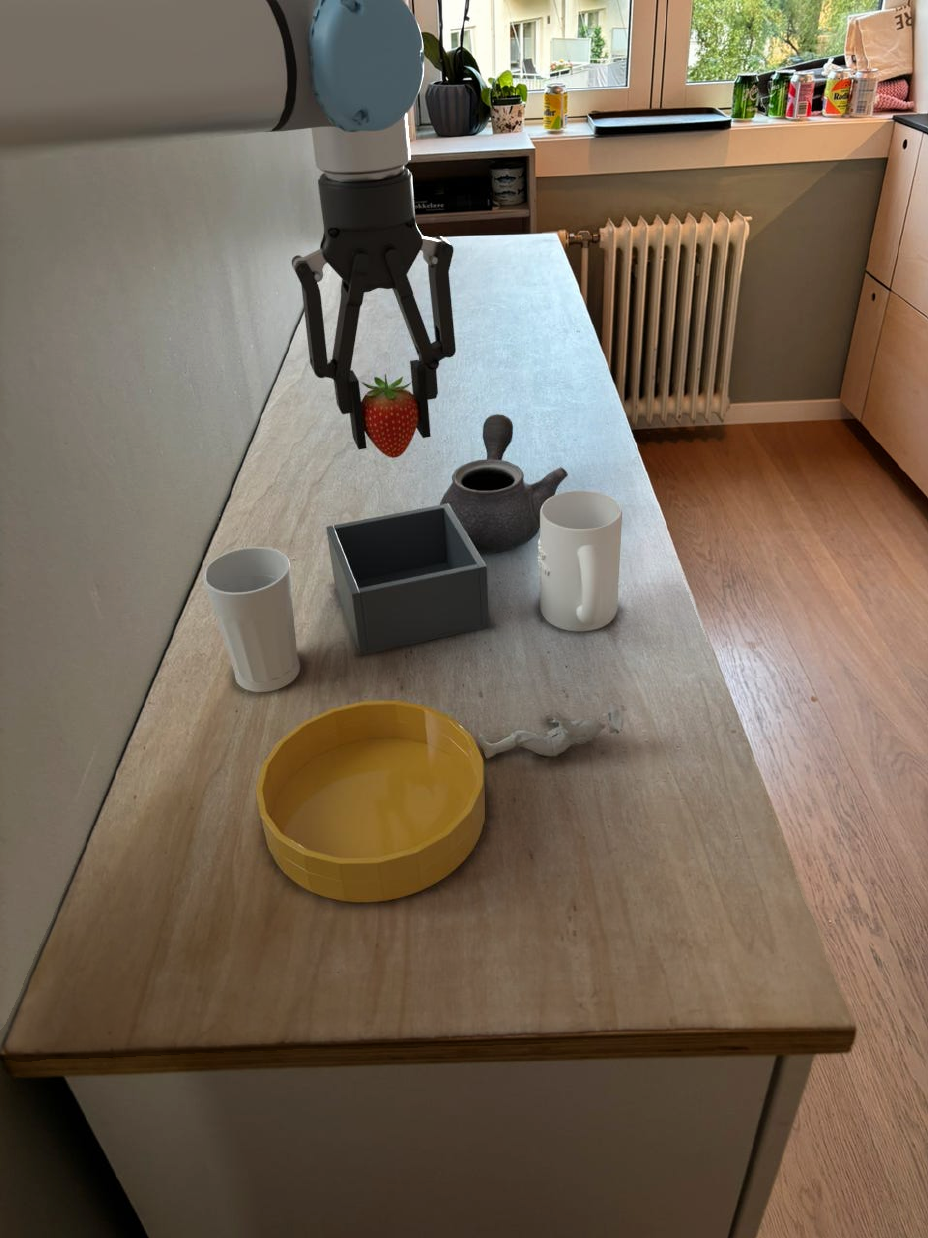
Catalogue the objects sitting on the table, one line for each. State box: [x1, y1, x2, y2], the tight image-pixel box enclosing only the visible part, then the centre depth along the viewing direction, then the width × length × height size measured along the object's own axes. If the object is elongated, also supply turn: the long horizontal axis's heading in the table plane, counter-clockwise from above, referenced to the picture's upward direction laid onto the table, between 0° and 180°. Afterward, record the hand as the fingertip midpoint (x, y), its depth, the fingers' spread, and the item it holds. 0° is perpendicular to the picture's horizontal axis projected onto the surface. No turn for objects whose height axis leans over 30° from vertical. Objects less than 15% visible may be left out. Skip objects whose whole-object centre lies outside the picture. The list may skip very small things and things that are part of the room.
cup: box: [201, 546, 301, 693], centre depth 93 cm, size 8×8×12 cm
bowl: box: [255, 699, 486, 903], centre depth 80 cm, size 18×18×4 cm
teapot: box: [439, 413, 569, 553], centre depth 116 cm, size 19×15×10 cm
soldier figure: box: [477, 702, 624, 760], centre depth 85 cm, size 8×5×12 cm
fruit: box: [361, 373, 419, 459], centre depth 90 cm, size 5×5×8 cm
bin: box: [325, 504, 490, 656], centre depth 103 cm, size 14×14×8 cm
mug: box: [537, 489, 623, 632], centre depth 98 cm, size 8×12×12 cm
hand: (391, 436), depth 92 cm, fingers closed on fruit, 5 cm apart
